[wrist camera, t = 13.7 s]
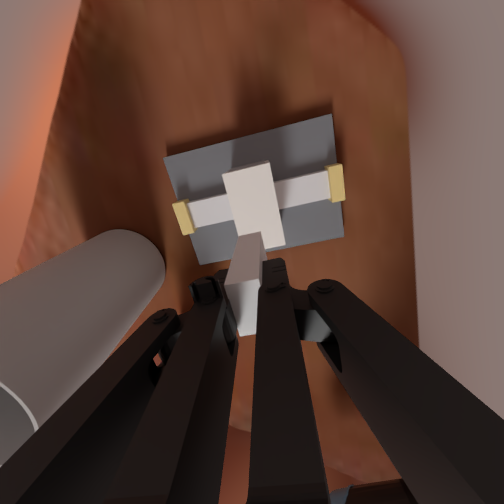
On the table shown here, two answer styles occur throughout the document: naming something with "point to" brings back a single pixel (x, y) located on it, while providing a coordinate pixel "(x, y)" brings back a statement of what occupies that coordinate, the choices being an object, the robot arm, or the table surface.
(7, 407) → the cylinder vase
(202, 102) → the table surface
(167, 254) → the table surface
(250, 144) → the rail panel
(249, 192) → the block
